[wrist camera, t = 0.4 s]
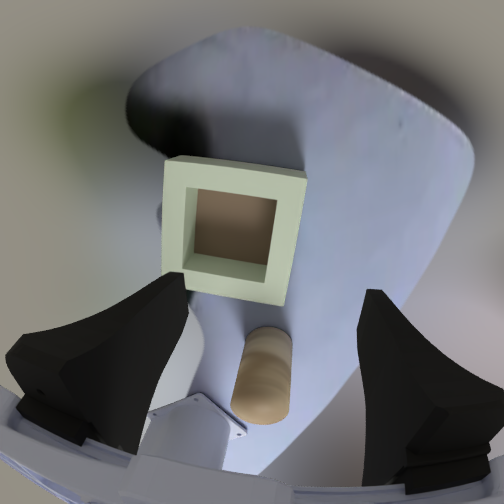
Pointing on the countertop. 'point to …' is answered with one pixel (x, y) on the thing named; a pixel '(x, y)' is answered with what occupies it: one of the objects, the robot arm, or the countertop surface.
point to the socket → (231, 226)
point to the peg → (263, 377)
